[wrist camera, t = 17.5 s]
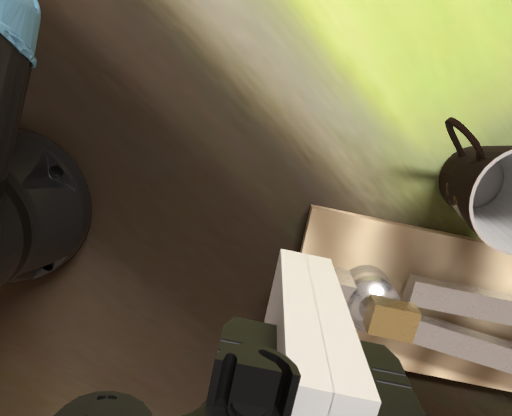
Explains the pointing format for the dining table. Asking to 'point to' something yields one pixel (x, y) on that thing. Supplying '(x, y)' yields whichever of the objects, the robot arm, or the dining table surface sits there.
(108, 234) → the dining table surface
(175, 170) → the dining table surface
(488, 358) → the tong arm
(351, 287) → the base
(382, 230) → the board
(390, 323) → the tab
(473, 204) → the coffee mug
